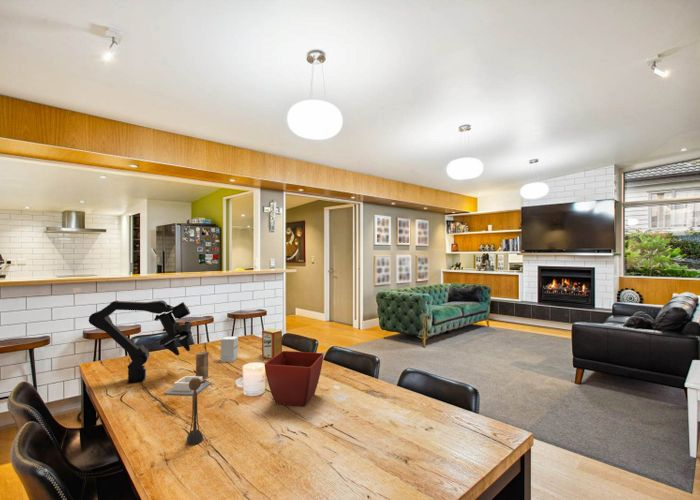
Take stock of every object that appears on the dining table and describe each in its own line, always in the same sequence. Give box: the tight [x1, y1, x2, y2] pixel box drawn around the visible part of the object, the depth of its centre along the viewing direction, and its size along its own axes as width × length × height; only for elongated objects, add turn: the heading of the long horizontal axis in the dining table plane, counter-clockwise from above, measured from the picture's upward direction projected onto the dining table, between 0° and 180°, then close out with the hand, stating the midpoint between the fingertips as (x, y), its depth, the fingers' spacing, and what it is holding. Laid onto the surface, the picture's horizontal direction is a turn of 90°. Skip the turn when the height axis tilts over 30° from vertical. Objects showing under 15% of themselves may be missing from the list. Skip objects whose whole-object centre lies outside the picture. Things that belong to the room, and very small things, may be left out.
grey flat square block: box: [163, 375, 212, 396], centre depth 154 cm, size 14×14×4 cm
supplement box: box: [220, 336, 239, 363], centre depth 196 cm, size 7×7×13 cm
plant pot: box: [264, 350, 324, 407], centre depth 142 cm, size 19×19×17 cm
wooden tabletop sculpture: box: [185, 378, 207, 446], centre depth 111 cm, size 6×5×20 cm
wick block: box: [195, 351, 209, 380], centre depth 167 cm, size 4×4×12 cm
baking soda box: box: [261, 328, 283, 361], centre depth 200 cm, size 10×6×16 cm
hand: (183, 352), depth 167 cm, fingers open, 9 cm apart
